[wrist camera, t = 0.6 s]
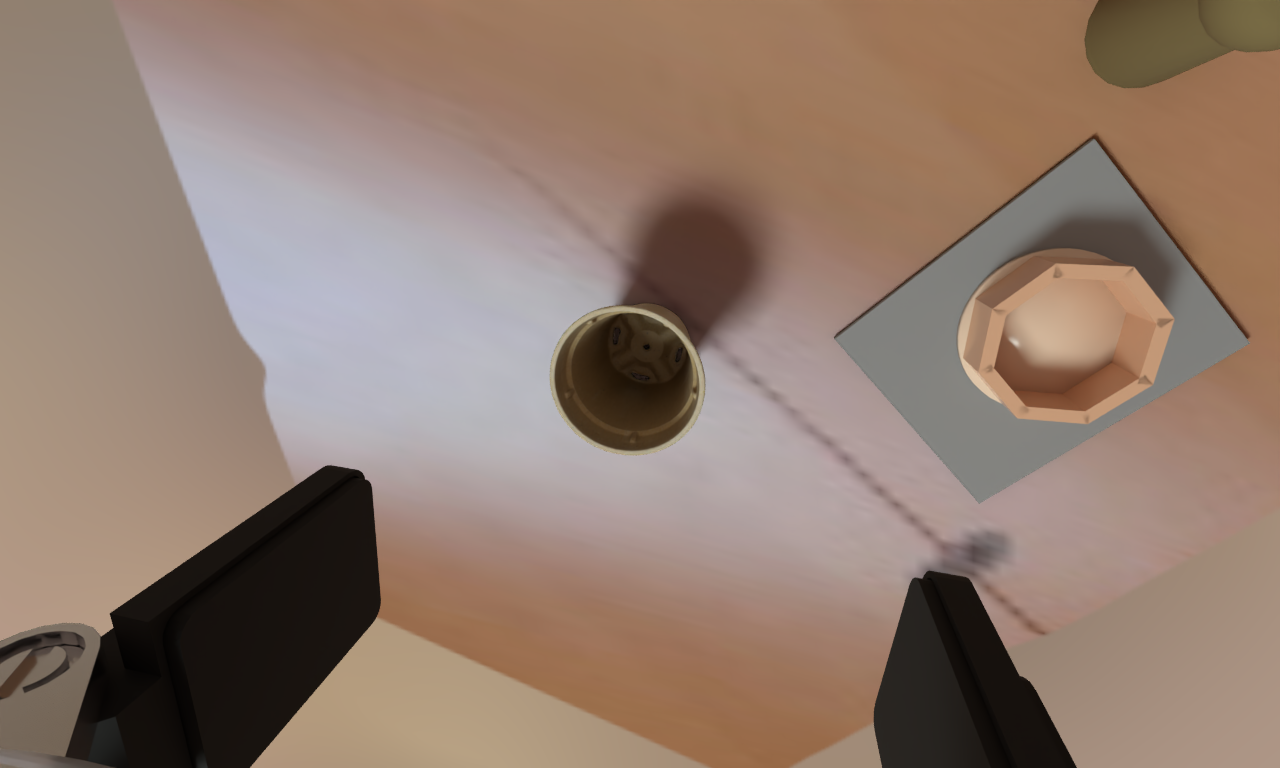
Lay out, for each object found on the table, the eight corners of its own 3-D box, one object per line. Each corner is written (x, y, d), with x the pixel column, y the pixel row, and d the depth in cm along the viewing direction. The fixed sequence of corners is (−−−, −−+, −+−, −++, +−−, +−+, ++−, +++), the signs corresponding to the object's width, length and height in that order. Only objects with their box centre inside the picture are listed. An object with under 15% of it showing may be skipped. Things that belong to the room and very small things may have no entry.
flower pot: (705, 270, 42) (692, 295, 34) (722, 398, 44) (714, 450, 36) (575, 289, 44) (534, 317, 36) (599, 410, 47) (566, 461, 39)
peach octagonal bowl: (922, 323, 40) (937, 338, 36) (1076, 210, 36) (1108, 215, 33) (1018, 436, 41) (1041, 460, 38) (1176, 338, 37) (1216, 355, 34)
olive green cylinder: (1111, -45, 32) (1275, -142, 22) (1236, -33, 31) (1464, -127, 21) (1067, 81, 34) (1197, 45, 24) (1182, 95, 34) (1367, 65, 23)
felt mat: (833, 337, 42) (834, 339, 41) (1090, 139, 35) (1094, 138, 35) (977, 500, 44) (979, 503, 43) (1245, 341, 37) (1249, 343, 37)
